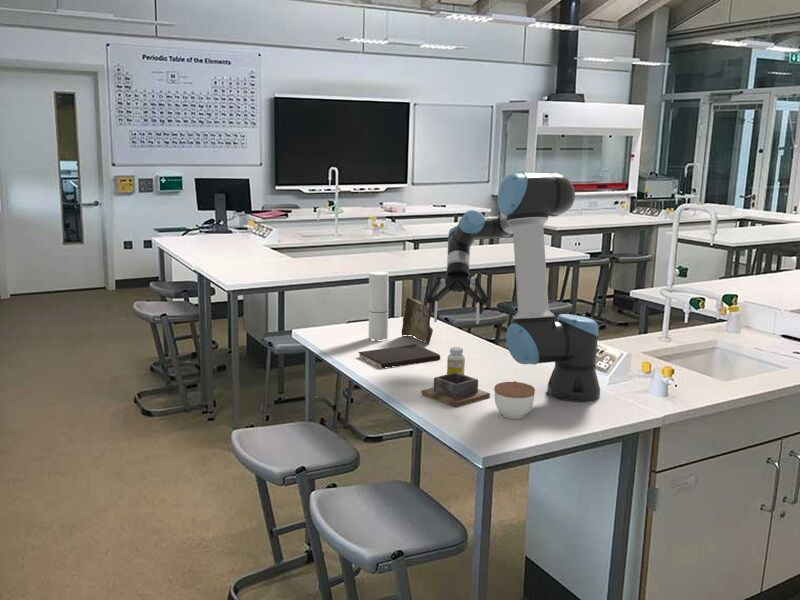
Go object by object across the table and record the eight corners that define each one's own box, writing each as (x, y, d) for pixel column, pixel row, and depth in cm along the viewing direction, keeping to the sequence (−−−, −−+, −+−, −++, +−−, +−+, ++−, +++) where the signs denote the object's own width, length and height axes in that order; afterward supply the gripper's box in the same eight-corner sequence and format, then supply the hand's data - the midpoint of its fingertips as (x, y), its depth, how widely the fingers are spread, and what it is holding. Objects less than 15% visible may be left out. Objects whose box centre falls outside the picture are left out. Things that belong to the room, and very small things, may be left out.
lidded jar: (541, 415, 200) (542, 381, 198) (519, 425, 192) (521, 390, 190) (507, 405, 207) (509, 373, 205) (485, 415, 199) (486, 381, 197)
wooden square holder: (489, 397, 214) (490, 379, 213) (455, 407, 205) (456, 389, 204) (455, 385, 224) (456, 368, 223) (421, 394, 215) (421, 377, 214)
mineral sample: (400, 336, 282) (401, 297, 279) (409, 335, 284) (410, 296, 281) (426, 346, 268) (427, 305, 265) (435, 345, 270) (436, 304, 267)
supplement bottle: (457, 382, 227) (458, 351, 225) (443, 378, 231) (444, 348, 229) (467, 378, 231) (468, 348, 229) (453, 374, 235) (454, 345, 233)
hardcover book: (358, 358, 253) (358, 352, 253) (415, 350, 265) (415, 344, 264) (381, 370, 240) (381, 363, 239) (440, 361, 252) (440, 354, 251)
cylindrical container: (388, 336, 281) (389, 271, 276) (386, 341, 274) (387, 275, 269) (370, 336, 282) (370, 271, 277) (367, 340, 275) (367, 274, 270)
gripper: (494, 275, 252) (494, 328, 241) (421, 272, 254) (418, 325, 242) (496, 262, 246) (496, 316, 234) (421, 259, 248) (417, 313, 236)
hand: (456, 321), depth 238 cm, fingers open, 13 cm apart
